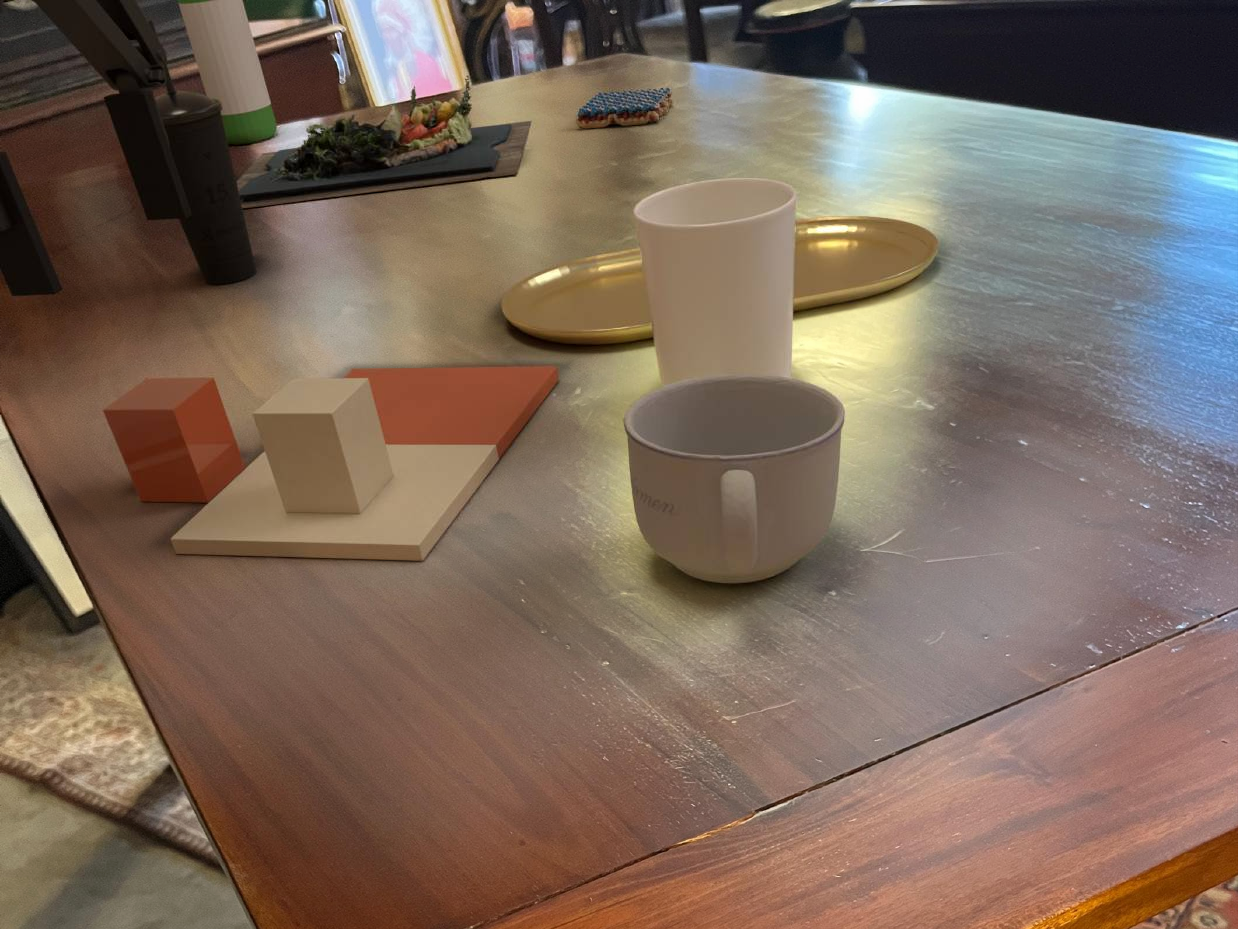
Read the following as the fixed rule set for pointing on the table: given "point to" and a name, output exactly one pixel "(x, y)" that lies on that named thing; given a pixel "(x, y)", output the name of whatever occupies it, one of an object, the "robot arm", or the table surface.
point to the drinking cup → (207, 184)
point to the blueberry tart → (625, 108)
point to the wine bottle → (230, 67)
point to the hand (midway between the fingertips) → (108, 253)
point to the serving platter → (617, 300)
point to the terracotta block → (175, 439)
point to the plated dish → (386, 155)
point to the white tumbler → (720, 276)
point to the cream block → (325, 445)
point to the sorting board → (421, 463)
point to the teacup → (734, 472)
